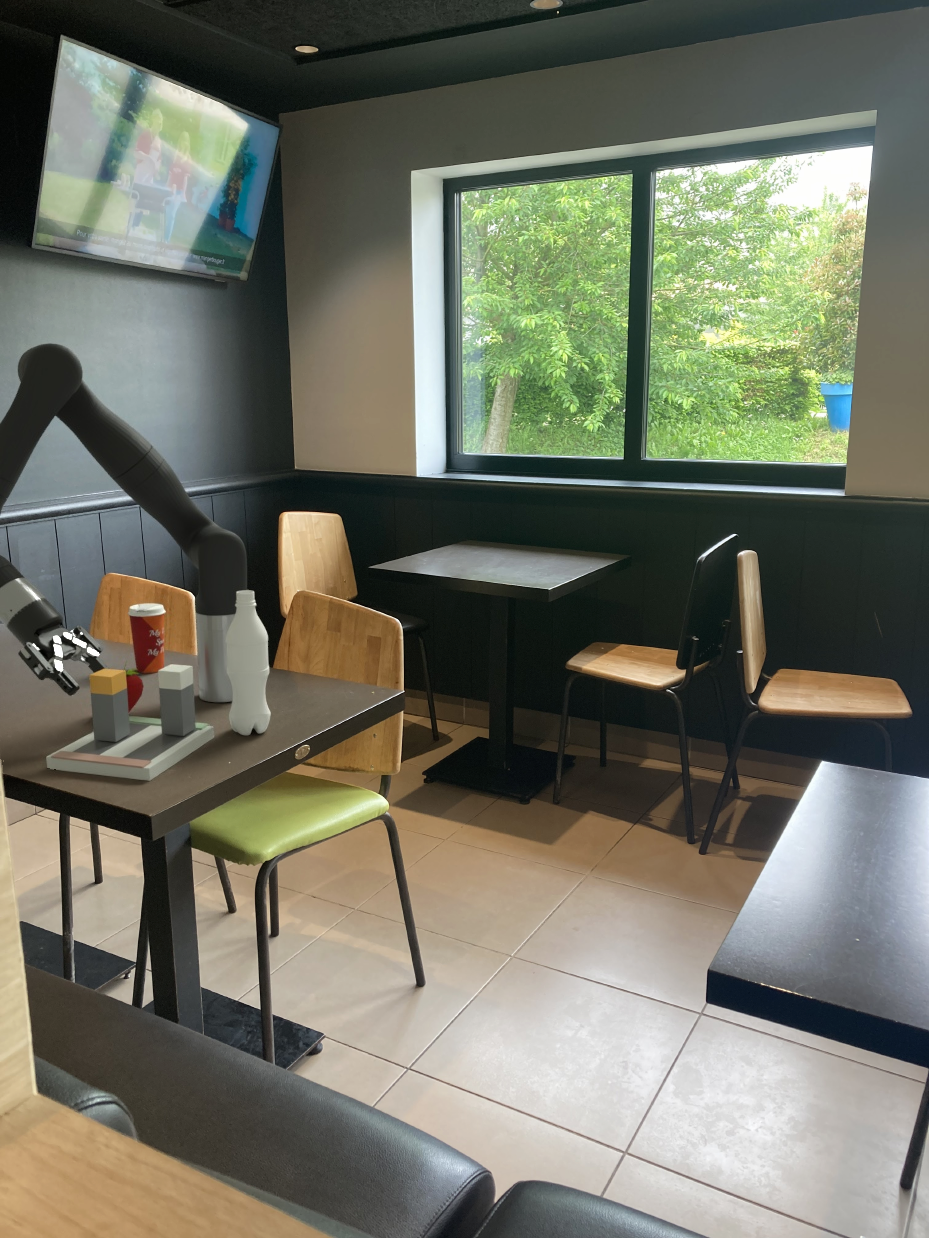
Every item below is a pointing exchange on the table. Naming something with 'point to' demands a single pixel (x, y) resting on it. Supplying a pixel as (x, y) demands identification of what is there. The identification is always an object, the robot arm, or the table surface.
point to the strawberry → (133, 688)
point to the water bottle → (248, 667)
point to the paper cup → (148, 636)
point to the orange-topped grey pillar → (109, 705)
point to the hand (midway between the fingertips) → (92, 684)
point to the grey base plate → (144, 736)
